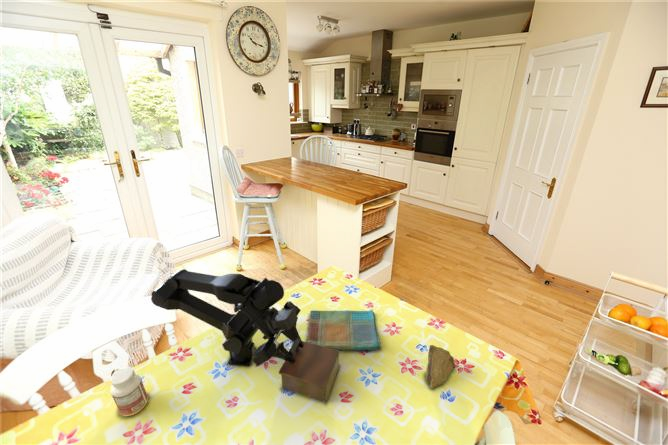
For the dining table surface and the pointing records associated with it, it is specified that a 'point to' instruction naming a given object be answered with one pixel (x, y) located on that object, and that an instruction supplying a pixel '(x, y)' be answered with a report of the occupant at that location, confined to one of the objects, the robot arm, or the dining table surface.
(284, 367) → the lid
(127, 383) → the pill bottle
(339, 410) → the dining table surface
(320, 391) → the brown wooden box
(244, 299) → the robot arm
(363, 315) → the dish towel
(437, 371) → the rock
